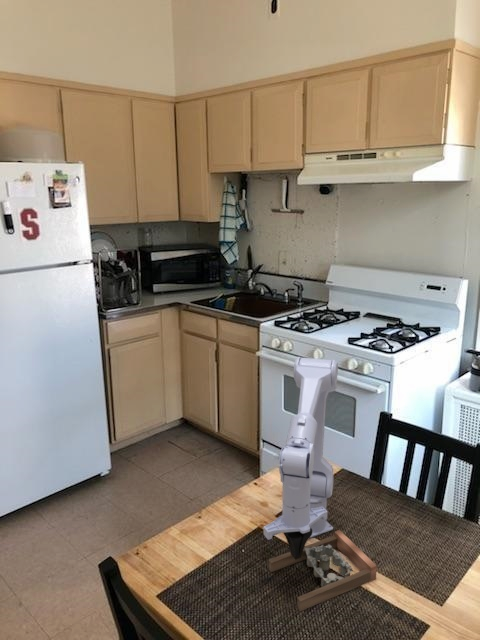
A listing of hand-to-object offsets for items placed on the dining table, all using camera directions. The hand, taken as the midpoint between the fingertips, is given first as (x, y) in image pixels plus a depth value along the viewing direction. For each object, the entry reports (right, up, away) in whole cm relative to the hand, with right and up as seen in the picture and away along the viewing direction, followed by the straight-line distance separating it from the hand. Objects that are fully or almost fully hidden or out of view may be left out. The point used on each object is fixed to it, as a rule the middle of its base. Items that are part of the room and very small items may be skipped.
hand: (295, 555), depth 111 cm
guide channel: (+6, -6, +4) cm, 9 cm away
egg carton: (+8, -6, +5) cm, 11 cm away
